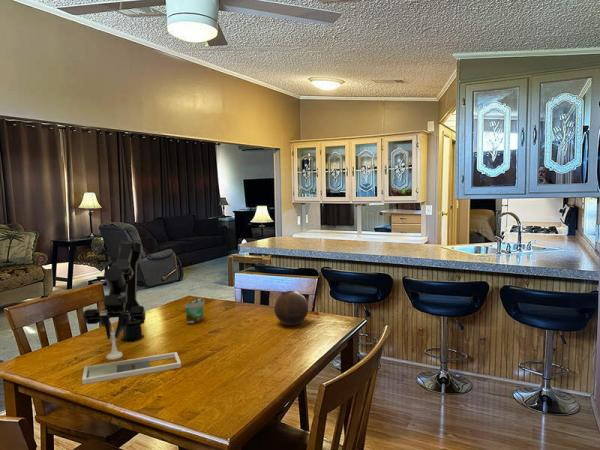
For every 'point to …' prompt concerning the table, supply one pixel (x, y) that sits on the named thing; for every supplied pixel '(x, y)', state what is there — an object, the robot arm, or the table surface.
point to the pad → (102, 371)
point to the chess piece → (114, 347)
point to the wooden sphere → (291, 308)
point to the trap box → (126, 367)
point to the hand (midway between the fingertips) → (112, 338)
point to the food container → (194, 311)
